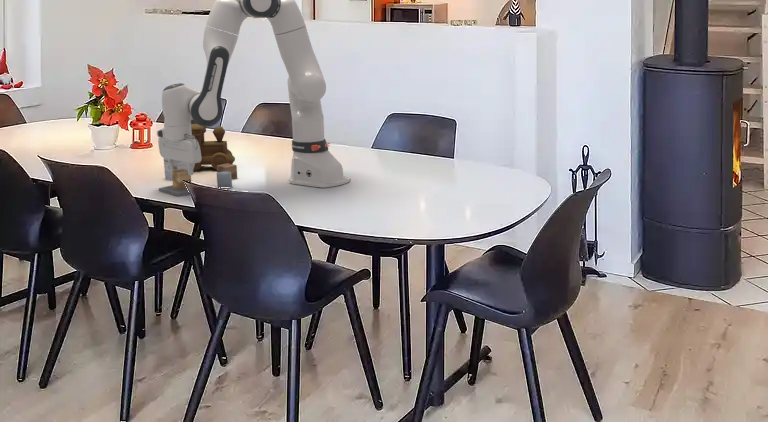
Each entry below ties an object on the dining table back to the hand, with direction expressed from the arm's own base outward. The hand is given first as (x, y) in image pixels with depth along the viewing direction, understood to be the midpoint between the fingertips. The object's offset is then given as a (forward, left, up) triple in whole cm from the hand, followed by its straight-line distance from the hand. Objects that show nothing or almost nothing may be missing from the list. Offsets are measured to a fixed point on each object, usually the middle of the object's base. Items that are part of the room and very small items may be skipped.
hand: (182, 173), depth 295 cm
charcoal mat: (0, 0, -6) cm, 6 cm away
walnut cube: (+3, -21, -6) cm, 22 cm away
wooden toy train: (+23, -26, -6) cm, 36 cm away
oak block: (0, 0, -5) cm, 5 cm away
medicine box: (+19, -10, -6) cm, 23 cm away
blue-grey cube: (-7, -12, -6) cm, 15 cm away
